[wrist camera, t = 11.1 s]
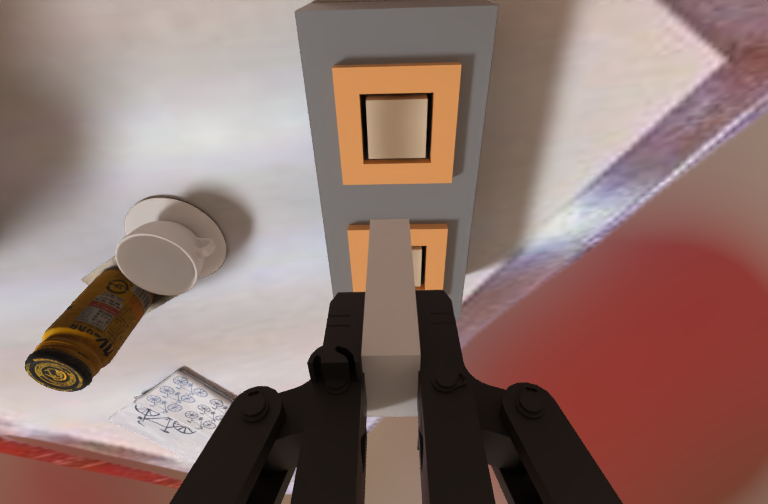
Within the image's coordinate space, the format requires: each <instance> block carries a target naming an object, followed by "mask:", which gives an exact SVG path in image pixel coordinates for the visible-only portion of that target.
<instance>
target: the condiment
mask: <svg viewBox="0 0 768 504" xmlns="http://www.w3.org/2000/svg"><path fill="white" fill-rule="evenodd" d="M82 281H83V282H85V283H86V284H88V285H89V286H88V287H87V288H86V289H85V290H84V291H83V292H82V293H81V294H80V295H79V296H78V297H77V298H76V299H75V301H73V302H72V304H71V305H70V306H69V307H68V308H67V310H65V312H64V313H63V314H62V315H61V316H60V317H59V318H58V319H57V320H56V321H55V322H54V323H53V324H52V325H51V326H50V327H49V328H48V329H47V330H46V331H45V333H44V335H43V337H42V342H41V343H40V344H39V345H38V346H37V347H36V349H35V351H34V352H33V353H32V354H30V355H29V356H28V358H27V360H26V362H25V370H26V371H27V373H28V374H29V376H31V377H32V378H33V379H34V380H35V381H36V382H38V383H40V384H41V385H44V386H46V387H48V388H51V389H54V390H58V391H67V392H73V391H78V390H82V389H83V388H85V387H86V386H87V385H89V384H90V383H91V382H92V378H93V377H94V376H95V375H96V374H97V373H98V372H99V371H100V369H101V368H103V367H105V366H106V365H107V364H109V363H110V362H111V360H112V359H113V358H114V356H115V355H116V353H117V352H118V350H119V349H120V347H121V346H122V345H123V343H124V342H125V340H126V339H127V337H128V336H129V335H130V333H131V332H132V330H133V329H134V328H135V326H136V325H137V324H138V322H139V321H140V319H141V318H142V317H143V315H145V314H146V313H148V312H150V311H151V310H153V309H155V308H157V307H158V306H160V305H162V304H164V303H166V302H167V301H169V300H171V299H172V298H174V297H176V296H178V295H160V294H156V293H152V292H149V291H147V290H144V289H142V288H140V287H139V286H137V285H135V284H134V283H133V282H131V281H130V280H129V279H128V278H127V277H126V276H125V275H124V274H123V273H122V272H121V270H120V269H119V267H118V265H117V262H116V259H115V257H113V258H112V259H110V260H109V261H107V262H106V263H104V264H103V265H101V266H100V267H99V268H97V269H96V270H94V271H93V272H91V273H90V274H89V275H87V276H86V277H84V278H83V279H82ZM179 295H180V294H179Z"/></svg>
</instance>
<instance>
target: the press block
mask: <svg viewBox="0 0 768 504" xmlns="http://www.w3.org/2000/svg"><path fill="white" fill-rule="evenodd" d="M497 13H498V5H496V4H494V3H491V2H489V1H486V0H389V1H355V2H321V3H310V4H308V5H306V6H304V7H302V8H300V9H298V10H296V11H295V18H296V25H297V32H298V40H299V47H300V54H301V62H302V69H303V76H304V84H305V91H306V99H307V106H308V113H309V121H310V128H311V135H312V143H313V150H314V157H315V165H316V172H317V179H318V187H319V194H320V202H321V209H322V216H323V224H324V231H325V238H326V246H327V253H328V260H329V268H330V275H331V283H332V290H333V297H335V296H336V294H337V293H338V292H365V291H366V276H367V261H368V246H369V231H370V219H409V223H410V235H411V246H422V260H421V286H415V290H444V291H445V293H446V294H447V295H448V296H449V298H450V299H451V300H452V305H453V310H454V315H455V319H460V313H461V305H462V297H463V289H464V281H465V273H466V265H467V257H468V248H469V240H470V232H471V224H472V216H473V208H474V200H475V192H476V183H477V175H478V167H479V159H480V151H481V143H482V135H483V127H484V119H485V110H486V102H487V94H488V86H489V78H490V70H491V62H492V54H493V45H494V37H495V29H496V21H497ZM391 93H426V95H427V99H428V103H427V129H426V155H425V158H388V159H369V154H368V134H367V114H366V94H391Z"/></svg>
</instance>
